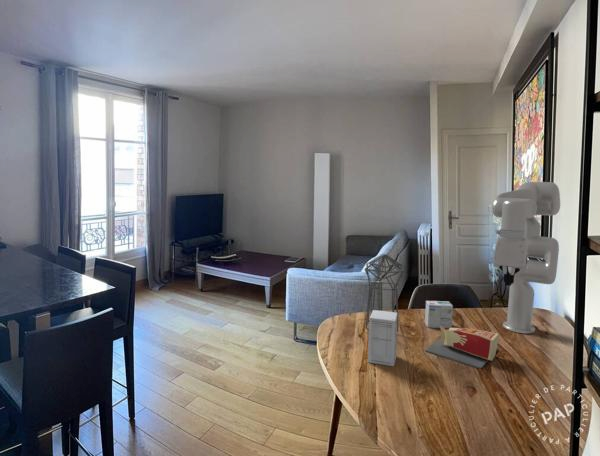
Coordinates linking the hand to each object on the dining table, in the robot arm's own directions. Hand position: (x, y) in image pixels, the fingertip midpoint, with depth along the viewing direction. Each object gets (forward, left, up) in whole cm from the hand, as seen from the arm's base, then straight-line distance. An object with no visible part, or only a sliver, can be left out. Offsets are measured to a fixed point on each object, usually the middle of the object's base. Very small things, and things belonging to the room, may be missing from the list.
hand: (508, 284), depth 136 cm
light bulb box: (-16, -30, -28) cm, 44 cm away
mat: (+3, -13, -28) cm, 31 cm away
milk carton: (+4, -2, -24) cm, 24 cm away
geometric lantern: (+12, -43, -28) cm, 53 cm away
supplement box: (+31, -32, -28) cm, 53 cm away
